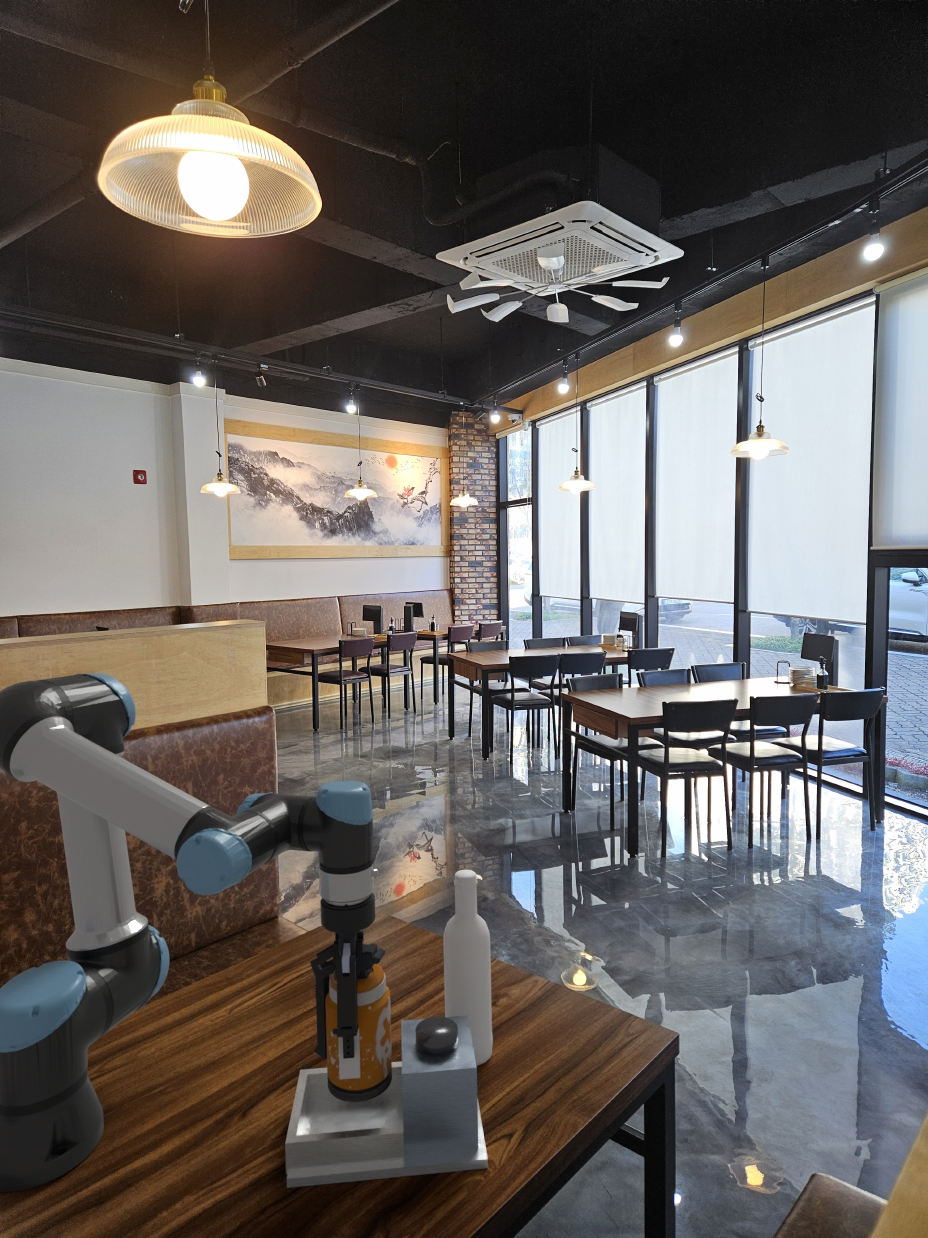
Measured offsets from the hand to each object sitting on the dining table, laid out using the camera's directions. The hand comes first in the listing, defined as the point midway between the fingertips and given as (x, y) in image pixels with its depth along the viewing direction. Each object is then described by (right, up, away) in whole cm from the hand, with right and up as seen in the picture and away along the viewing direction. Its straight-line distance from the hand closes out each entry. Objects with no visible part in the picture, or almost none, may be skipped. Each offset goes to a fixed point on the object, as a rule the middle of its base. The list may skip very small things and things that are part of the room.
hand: (352, 1054), depth 98 cm
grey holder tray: (+5, -12, +1) cm, 13 cm away
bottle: (+16, -11, +18) cm, 27 cm away
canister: (0, -5, 0) cm, 5 cm away
